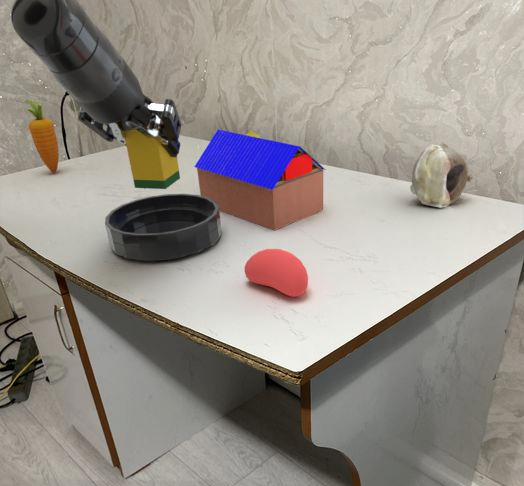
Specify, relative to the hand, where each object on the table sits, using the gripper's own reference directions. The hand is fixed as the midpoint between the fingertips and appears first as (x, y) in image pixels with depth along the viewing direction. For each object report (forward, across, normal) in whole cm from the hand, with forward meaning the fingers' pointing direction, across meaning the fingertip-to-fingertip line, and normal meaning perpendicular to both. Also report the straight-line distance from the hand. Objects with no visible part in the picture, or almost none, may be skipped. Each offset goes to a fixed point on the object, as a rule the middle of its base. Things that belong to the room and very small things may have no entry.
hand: (158, 151), depth 78 cm
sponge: (+2, 0, +4) cm, 5 cm away
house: (+20, -10, -1) cm, 22 cm away
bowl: (+8, 0, +11) cm, 13 cm away
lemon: (+33, -2, -15) cm, 37 cm away
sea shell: (+24, -40, -5) cm, 47 cm away
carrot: (+30, +43, -11) cm, 53 cm away
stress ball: (0, -22, +19) cm, 29 cm away
